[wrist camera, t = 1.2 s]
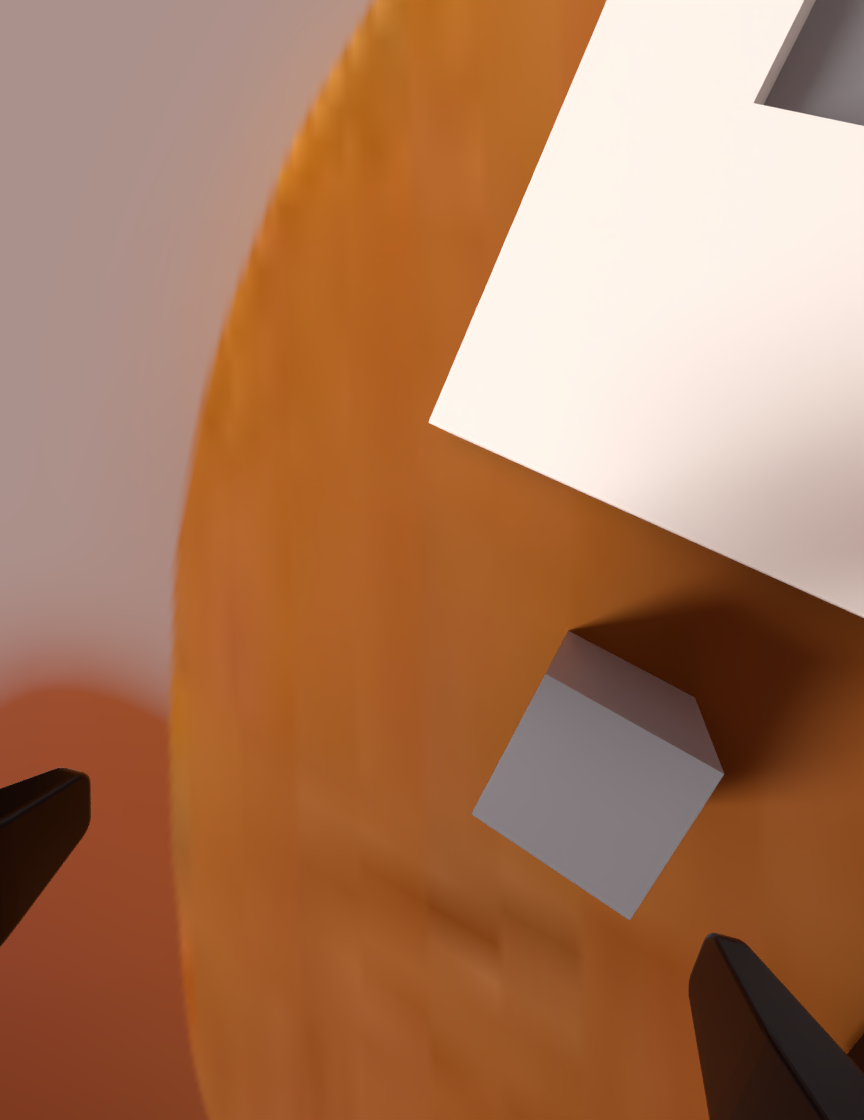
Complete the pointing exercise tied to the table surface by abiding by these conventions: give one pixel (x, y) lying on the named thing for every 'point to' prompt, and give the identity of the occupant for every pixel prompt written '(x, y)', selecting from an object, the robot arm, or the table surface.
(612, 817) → the block
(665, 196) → the socket plate
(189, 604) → the table surface
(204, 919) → the table surface
